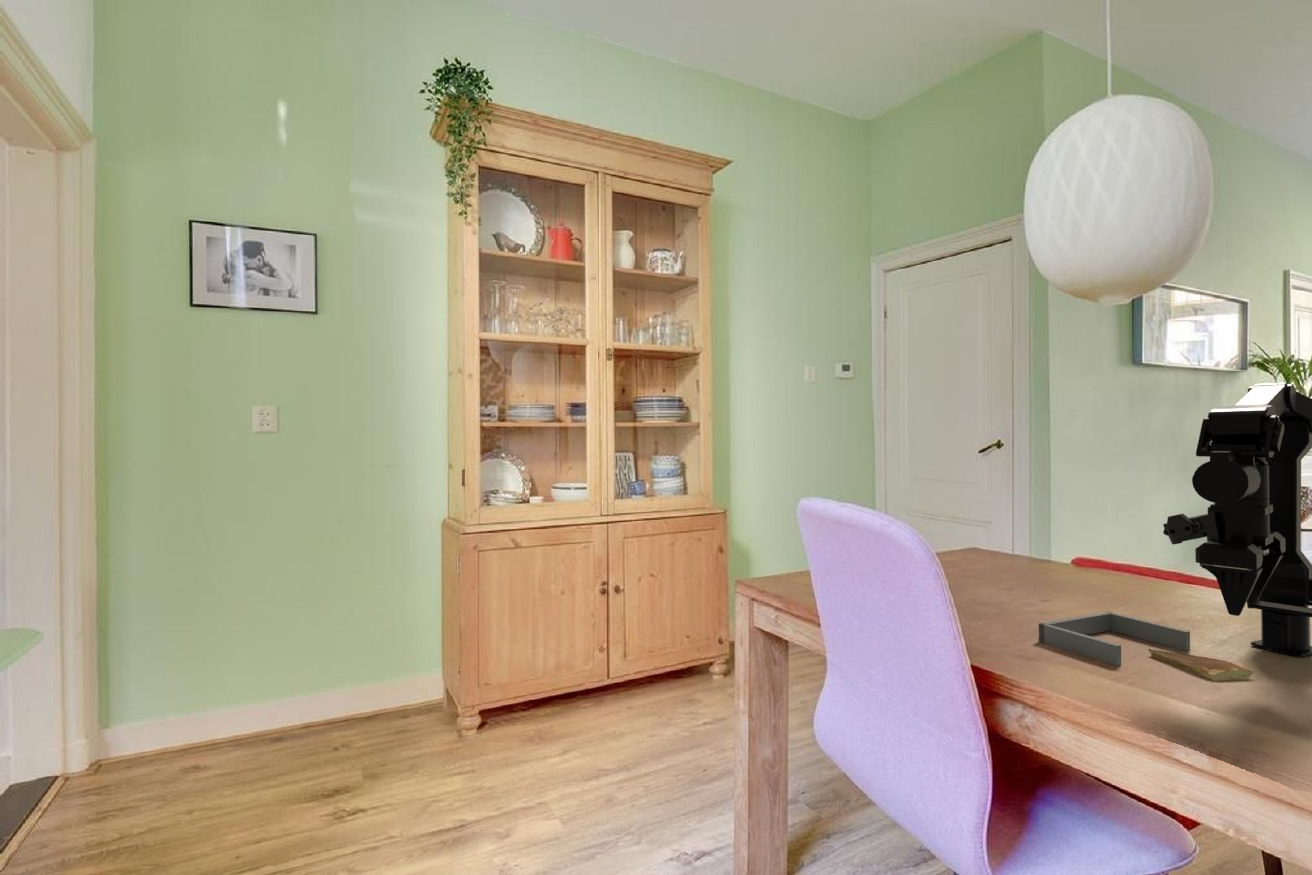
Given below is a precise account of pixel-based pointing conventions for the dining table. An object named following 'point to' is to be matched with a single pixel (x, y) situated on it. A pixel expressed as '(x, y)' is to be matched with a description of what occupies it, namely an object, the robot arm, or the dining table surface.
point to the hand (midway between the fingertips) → (1242, 608)
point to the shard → (1204, 665)
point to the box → (1076, 630)
